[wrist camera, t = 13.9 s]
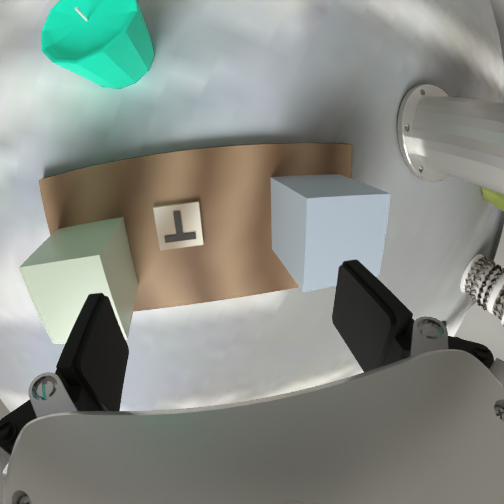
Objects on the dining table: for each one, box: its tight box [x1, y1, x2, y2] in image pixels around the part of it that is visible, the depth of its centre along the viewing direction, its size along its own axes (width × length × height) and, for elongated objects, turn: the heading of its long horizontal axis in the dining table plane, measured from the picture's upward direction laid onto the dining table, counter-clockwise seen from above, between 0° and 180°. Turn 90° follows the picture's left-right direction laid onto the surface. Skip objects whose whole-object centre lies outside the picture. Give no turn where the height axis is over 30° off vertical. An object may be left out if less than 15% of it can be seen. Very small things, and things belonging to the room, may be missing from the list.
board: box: [39, 143, 352, 311], centre depth 25 cm, size 30×15×2 cm, turn 91°
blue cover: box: [271, 174, 391, 292], centre depth 23 cm, size 7×7×8 cm
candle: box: [42, 0, 154, 89], centre depth 12 cm, size 6×6×12 cm
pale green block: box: [19, 217, 139, 344], centre depth 20 cm, size 7×7×8 cm
